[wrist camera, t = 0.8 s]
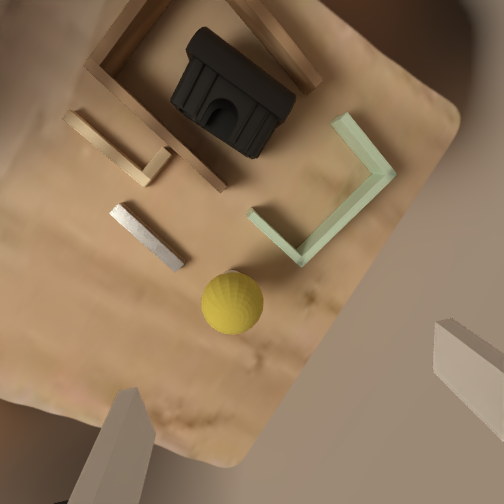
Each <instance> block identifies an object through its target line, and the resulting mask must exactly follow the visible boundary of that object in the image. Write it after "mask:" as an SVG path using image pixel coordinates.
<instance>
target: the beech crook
mask: <svg viewBox="0 0 504 504" xmlns="http://www.w3.org/2000/svg"><path fill="white" fill-rule="evenodd" d="M63 120H64V121H65V122H66V123H68V124H69V125H70V126H71V127H72V128H74V129H75V130H76V131H77V132H78V133H79V134H81V135H82V136H83V137H84V138H85V139H87V140H88V141H89V142H90V143H91V144H93V145H94V146H95V147H96V148H97V149H98V150H100V151H101V152H102V153H103V154H104V155H106V156H107V157H108V158H109V159H110V160H111V161H113V162H114V163H115V164H116V165H117V166H119V167H120V168H121V169H122V170H123V171H125V172H126V173H127V174H128V175H129V176H130V177H132V178H133V179H134V180H135V181H136V182H138V183H139V184H140V185H141V186H142V187H143V188H145V187H147V186H148V185H149V184H150V182H151V181H152V180H153V179H154V178H155V176H156V175H157V174H158V173H159V172H160V170H161V169H162V168H163V167H164V166H165V164H166V163H167V162H168V161H169V160H170V158H171V157H172V156H173V154H171V153H170V152H169V151H168V150H167V149H166V148H165V147H162V148H161V149H160V150H159V151H158V152H157V154H156V155H155V156H154V157H153V159H152V160H151V161H150V162H149V163H148V165H147V166H146V167H145V168H144V170H142V169H141V168H140V167H139V166H137V165H136V164H135V163H134V162H133V161H132V160H130V159H129V158H128V157H127V156H126V155H125V154H123V153H122V152H121V151H120V150H119V149H118V148H117V147H115V146H114V145H113V144H112V143H111V142H110V141H108V140H107V139H106V138H105V137H104V136H103V135H101V134H100V133H99V132H98V131H97V130H96V129H94V128H93V127H92V126H91V125H90V124H89V123H88V122H86V121H85V120H84V119H83V118H82V117H81V116H79V115H78V114H77V113H76V112H75V111H72V110H68V112H67V113H66V115H65V116H64V117H63Z"/></svg>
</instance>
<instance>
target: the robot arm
mask: <svg viewBox="0 0 504 504" xmlns="http://www.w3.org/2000/svg"><path fill="white" fill-rule="evenodd" d="M433 361H434V362H433V372H434V373H435V374H436V375H437V376H438V377H439V378H440V379H441V380H442V381H443V382H444V383H445V384H446V385H447V386H448V387H449V388H450V389H451V390H452V391H453V392H454V393H455V394H456V395H457V396H458V397H459V398H460V399H461V400H462V401H463V402H464V403H465V404H466V405H467V406H468V407H469V408H470V409H471V410H472V411H473V412H474V413H475V414H476V415H477V416H478V417H479V418H480V419H481V420H482V421H483V422H484V423H485V424H486V425H487V426H488V427H489V428H490V429H491V430H492V431H493V432H494V433H495V434H496V435H497V436H498V437H499V438H500V439H501V440H502V441H503V442H504V353H502V352H501V351H499V350H498V349H496V348H495V347H493V346H492V345H491V344H489V343H488V342H486V341H484V340H483V339H482V338H480V337H479V336H477V335H476V334H474V333H473V332H471V331H470V330H468V329H467V328H466V327H464V326H463V325H461V324H460V323H458V322H457V321H455V320H454V319H453V318H450V319H446V320H441V321H436V322H435V340H434V360H433ZM155 436H156V433H155V430H154V428H153V425H152V423H151V420H150V418H149V415H148V413H147V410H146V408H145V405H144V403H143V400H142V398H141V396H140V393H139V391H138V388H137V387H134V388H129V389H124V390H120V391H118V393H117V396H116V398H115V400H114V402H113V404H112V407H111V409H110V411H109V413H108V415H107V418H106V420H105V422H104V424H103V426H102V429H101V431H100V433H99V435H98V437H97V440H96V442H95V444H94V446H93V448H92V451H91V453H90V455H89V457H88V459H87V462H86V464H85V466H84V468H83V470H82V473H81V475H80V477H79V479H78V481H77V484H76V486H75V488H74V490H73V492H72V495H71V497H70V499H69V500H67V501H62V502H58V503H54V504H139V500H140V496H141V492H142V488H143V484H144V480H145V476H146V472H147V468H148V464H149V460H150V456H151V452H152V447H153V444H154V440H155Z"/></svg>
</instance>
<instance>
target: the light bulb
mask: <svg viewBox="0 0 504 504" xmlns="http://www.w3.org/2000/svg"><path fill="white" fill-rule="evenodd" d="M202 311H203V314H204V317H205V319H206V321H207V322H208V323H209V324H210V325H211V326H212V328H214V329H216V330H217V331H219V332H221V333H225V334H239V333H243V332H245V331H247V330H248V329H250V328H252V327H253V326H254V325H255V323H256V322H257V321H258V320H259V318H260V316H261V313H262V311H263V296H262V292H261V289H260V287H259V286H258V284H257V283H256V282H255V280H253V279H252V278H250V277H249V276H247V275H244V274H241V273H240V272H238V271H235V270H228V271H226V272H224V273H223V274H221V275H219V276H217V277H216V278H214V279H212V280H211V281H210V282H209V284H208V285H207V286H206V287H205V290H204V293H203V296H202Z"/></svg>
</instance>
